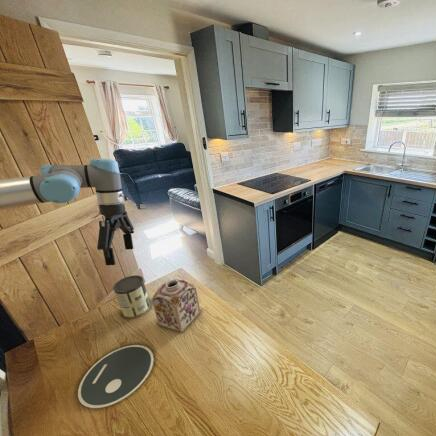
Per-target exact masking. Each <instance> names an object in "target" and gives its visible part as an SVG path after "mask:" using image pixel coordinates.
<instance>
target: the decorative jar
mask: <svg viewBox="0 0 436 436" xmlns="http://www.w3.org/2000/svg"><path fill="white" fill-rule="evenodd" d="M151 301H152V302H151V303H152V306H153V310H154V313H155V317H156V321H157V323H158V326H162V327H165V328H168V329H171V330H174V331H177V332H180V333H182V332H184V330H185V329H186V328H187V327H189V325H190V324H191V323H192V322H193V320H194V319H195V318H196V317H197V316H198V315H199V314H200V313H201V305H200V301H199V294H198V290H197V287H196V285H194V283H192V282H191V281H190V280H187V279H186V278H185V279H184V278H175V279H170V280H168V281H165V282H164V283H163V284H161V285H160V286H158V288H157V289H156V291H155V293H154V295H153V296H152V298H151Z"/></svg>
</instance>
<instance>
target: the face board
mask: <svg viewBox="0 0 436 436" xmlns="http://www.w3.org/2000/svg"><path fill="white" fill-rule="evenodd" d="M153 366H154V354H153V352H152V350H151V348H149V347H146V346H145V345H141V344H131V345H126V346H123V347H120V348H117V349H115V350H113V351H111V352H109V353H108V354H106V355H104V356H102V358H100V359H99V360H98V361H96V362H95V364H93V365H92V366H91V367H90V368H89V369H88V371H87V372H86V373H85V374H84V376H83V378H81V381H80V383H79V386H78V390H77V397H78V401H79V402H80V403H81V405H83V406H84V407H87V408H91V409H101V408H106V407H109V406H112V405H114V404H116V403H118V402H121V401H122V400H125V398H127V397H129V396H130V395H132V394H133V393H134V392H135V391H136V390H138V388H139V387H140V386H141V385H143V383H144V382H145V380H146V379H147V378H148V376H149V375H150V373H151V371H152V368H153Z"/></svg>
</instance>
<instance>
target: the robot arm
mask: <svg viewBox="0 0 436 436" xmlns="http://www.w3.org/2000/svg"><path fill="white" fill-rule="evenodd" d="M83 188H84V189H85V188H95V194H96V195H95V196H96V200H97V201H96V202H97V203H98V210H99V214H100V215H101V216H103V217H104V220H98V226H99V227H98V228H99V229H98V238H97V245H96V246H97V247H96V249H97V251H99V250H101V251H102V253H103V257H104V262H105V266H115V265H116V259H115V253H114V249H113V247H112V245H113V244H112V243H113V240H114V235H115V232H117V229H118V228H119V229H120V230H121V232H122V233H123V234H122V237H123V243H124V249H125V250H134V244H133V242H134V241H133V236H132V234H134V233H135V227H134V226H133V224H132V222H131V219H130V218H129V215H128V212H127V210H126V205H125V203H124V201H125V200H124V195H125V194H124V193H123V187H122V179H121V173H120V167H119V164H118V161H117V160H115V159H113V158H92V159H90V161H89V164H57V163H56V164H45V165H43V166H42V167H41V168H40V174H37V175H29V176H20V177H13V178H5V179H0V211H4V210H10V209H17V208H22V207H27V206H33V205H40V204H44V203H54V204H67V203H69V202H71V201H73V200H75V199H76V198H77V197H78V195H79V194H80V192H81V189H83Z"/></svg>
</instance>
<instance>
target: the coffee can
mask: <svg viewBox="0 0 436 436" xmlns="http://www.w3.org/2000/svg"><path fill="white" fill-rule="evenodd" d="M112 290H113V292H114V293H115V296H116V299H117V302H118V305H119V307H120V310H121V314H122V315H123V317H125V318H128V319H131V318H137V317H139V316H141V315H144V313H146V312H147V311H148V310H149V309H150V307H151V302H150V298H149V295H148V292H147V288H146V285H145V282H144V278H143V276H142V275H137V274H136V275H129V276H125V277H122V278H121V279H119V280H118V281H117V282H115V283H114V285H113V287H112Z"/></svg>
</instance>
